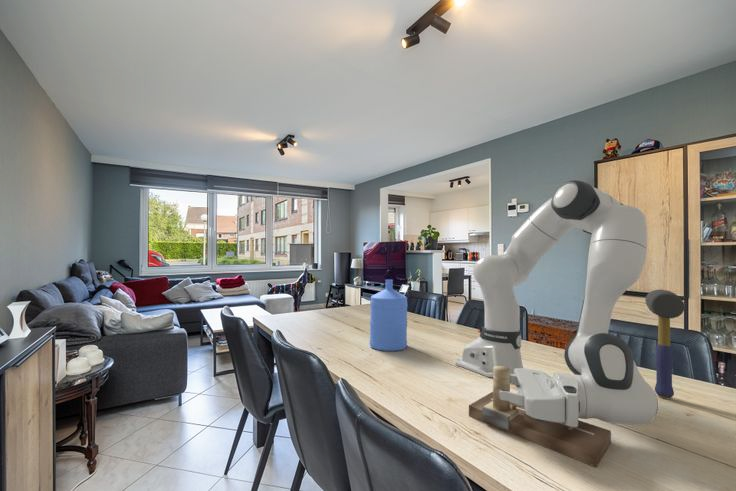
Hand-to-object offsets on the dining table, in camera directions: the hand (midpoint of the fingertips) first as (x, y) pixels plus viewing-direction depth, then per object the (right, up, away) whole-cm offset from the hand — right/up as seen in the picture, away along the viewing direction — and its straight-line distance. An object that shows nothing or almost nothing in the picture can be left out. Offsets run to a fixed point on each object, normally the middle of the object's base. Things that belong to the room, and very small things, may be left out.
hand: (497, 386), depth 77 cm
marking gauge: (0, -7, -1) cm, 8 cm away
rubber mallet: (+53, -10, +15) cm, 56 cm away
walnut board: (+8, -9, -2) cm, 12 cm away
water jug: (-22, -10, +62) cm, 67 cm away
